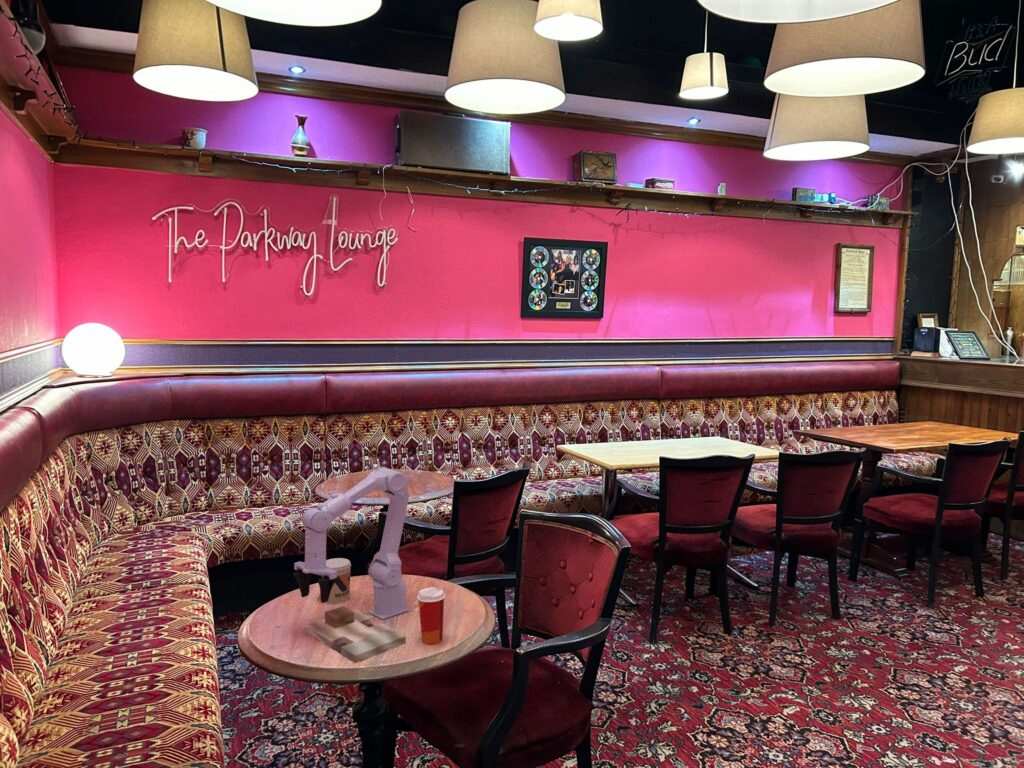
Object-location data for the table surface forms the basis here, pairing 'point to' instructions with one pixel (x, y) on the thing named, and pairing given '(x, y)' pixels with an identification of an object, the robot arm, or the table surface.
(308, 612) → the table surface
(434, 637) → the paper cup
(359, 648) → the board
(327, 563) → the coffee cup
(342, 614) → the walnut block
